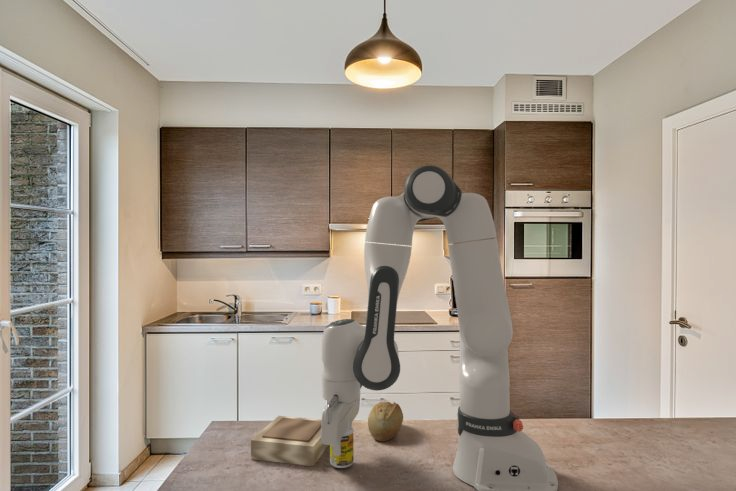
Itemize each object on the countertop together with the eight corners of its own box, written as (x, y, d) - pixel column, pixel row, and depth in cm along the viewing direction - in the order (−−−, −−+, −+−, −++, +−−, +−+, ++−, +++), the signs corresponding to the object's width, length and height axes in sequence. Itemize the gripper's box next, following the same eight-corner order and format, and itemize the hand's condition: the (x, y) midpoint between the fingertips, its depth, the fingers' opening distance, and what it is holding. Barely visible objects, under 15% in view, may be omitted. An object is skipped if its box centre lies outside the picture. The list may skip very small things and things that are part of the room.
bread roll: (405, 422, 131) (404, 395, 131) (401, 445, 116) (401, 414, 116) (372, 421, 133) (372, 394, 133) (364, 442, 118) (364, 412, 118)
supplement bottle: (337, 471, 102) (337, 426, 102) (325, 462, 106) (325, 418, 106) (358, 464, 105) (357, 421, 105) (346, 455, 109) (345, 413, 109)
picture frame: (333, 437, 121) (333, 419, 121) (313, 466, 105) (313, 444, 105) (278, 432, 124) (278, 414, 124) (250, 459, 109) (250, 438, 109)
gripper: (341, 405, 95) (342, 470, 95) (364, 377, 115) (364, 431, 115) (313, 403, 96) (314, 467, 96) (340, 376, 116) (341, 429, 116)
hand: (341, 447), depth 105 cm, fingers closed on supplement bottle, 6 cm apart
